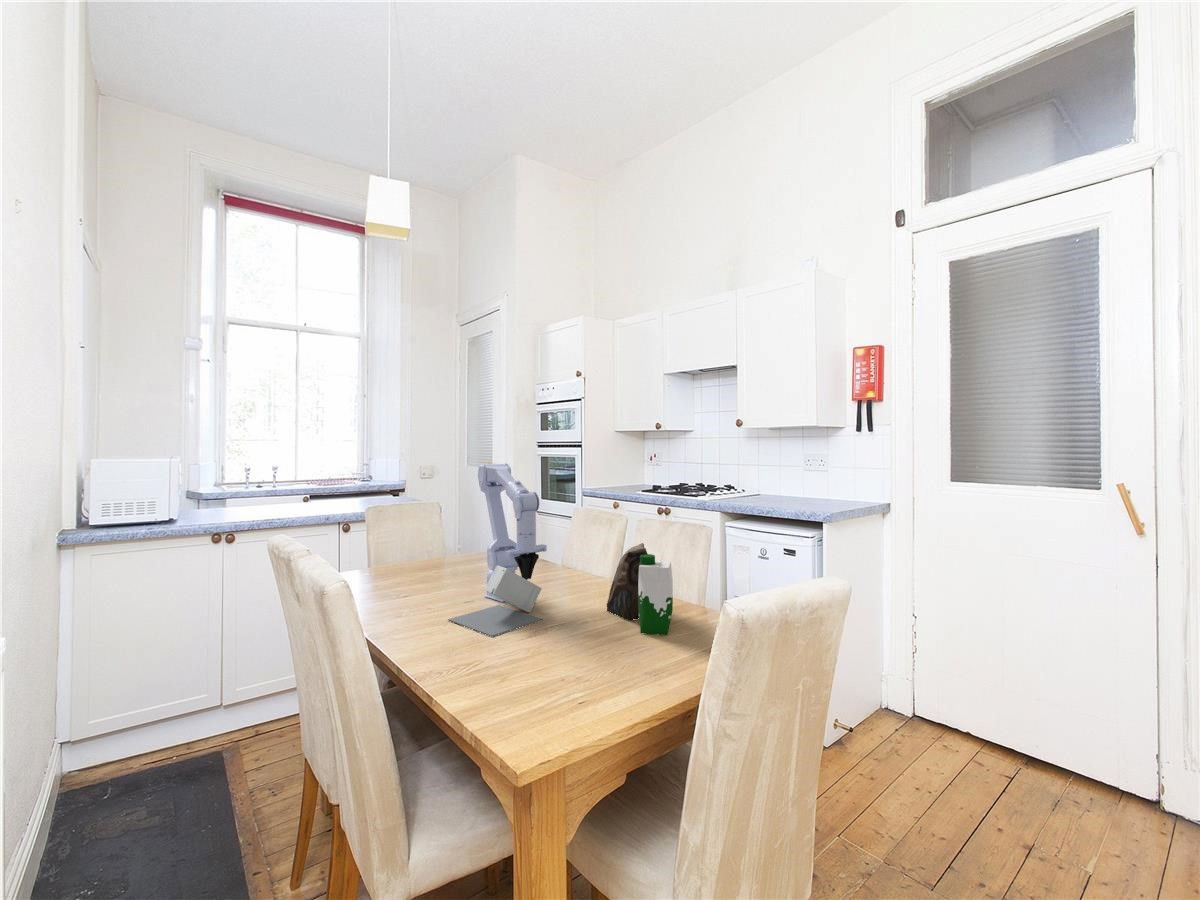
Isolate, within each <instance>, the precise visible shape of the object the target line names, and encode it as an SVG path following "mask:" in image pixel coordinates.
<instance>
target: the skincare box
mask: <svg viewBox="0 0 1200 900" xmlns="http://www.w3.org/2000/svg"><path fill="white" fill-rule="evenodd" d="M483 590H484V591H486V593H487V592H489V593H491V594H493V595H495V596H496V597H498V598H500V599H502V600H504V602H507V603H508V604H511V605H513V606H515V607H516V608H519V609H521V610H522V611H525V612H527V613H528V614H530V613H531V612H532V609H533V607H534V605H535V604H536V601H537V599H538V598H539V595H540V593H541V591H542V587H540V586H538V585H537V584H535V583H533V582H531V581H529V579H528V580H526V579H524V578H523V577H522V576H521V575H520V574H517V573H516V572H515V573H514V572H512V571H510V570H508V569H507V568H504V567H501V566H498V565H497V566H496V568H495V570H494V572H493V574H492V576H491V578H490V580H489V582H488V584H487V583H486V585H485V587H484V589H483Z"/></svg>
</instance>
